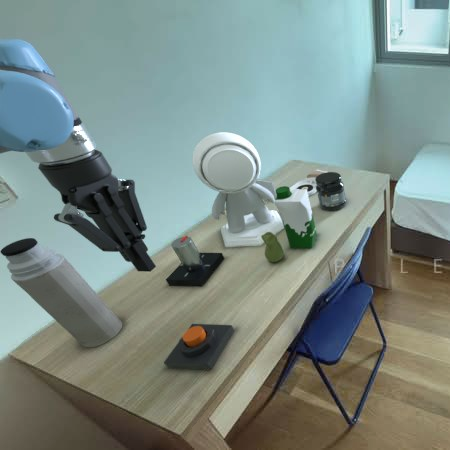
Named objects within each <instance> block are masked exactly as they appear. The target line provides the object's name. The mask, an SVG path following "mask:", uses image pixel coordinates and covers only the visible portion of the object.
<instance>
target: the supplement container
mask: <svg viewBox="0 0 450 450" xmlns="http://www.w3.org/2000/svg"><path fill="white" fill-rule="evenodd" d="M315 181H316V184H317V185H316V190H317V192H316V194H317V199H318V204H319V207H320V208H321V209H323V210H325V211H336V210H337V211H338V210H340V209H341V208H343V207H344V206H345V205H346V203H347V199H346V192H345V187H344V186H345V184H344V181H342V175H341V174H340V173H339V172H336V171H326V173H322V174H320V175H318V176H317V177H316V179H315Z"/></svg>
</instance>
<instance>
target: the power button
mask: <svg viewBox="0 0 450 450" xmlns="http://www.w3.org/2000/svg"><path fill="white" fill-rule="evenodd" d="M182 336H183V340H184V342H185V343H186V344H187V346H189V347H194V346H197V345H199V344H200V343H202V342H203V341H204V340H205V338H206V333H205V331H204V330H203V328H202V327H201V326H194V327H192V328H190V329H189V328H188V329H187V330H186V331H185V332H184V333H183V335H182Z"/></svg>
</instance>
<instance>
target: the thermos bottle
mask: <svg viewBox="0 0 450 450" xmlns="http://www.w3.org/2000/svg"><path fill="white" fill-rule="evenodd" d="M0 254H1V255H2V256H3V257H5V259H6V260H7V261H8V264H7V265H6V267H7V269H8V272H9V273H10V274H11V275H10V279H11V280H12V281H13V282H14V283H15V284H16V285H17V286H18V287H20V288H21V289H22V290H23V291H24V292H25V293H26V294H28V295H29V296H30V298H31V299H32V300H33V301H34V302H35V303H37V305H39V307H41V308H42V309H43V310H44V311H45V312H46V313H47V314H48V315H50V317H52V319H53V320H55V321H56V322H57V323H58V324H59V325H60V326H61V327H62V328H63V329H64V330H66V331H67V332H68V334H70V335H71V336H72V337H73V338H74V339H75V340H76V341H77V342H78V343H79V344H80V345H81V346H83V347H84V348H97V347H98V346H101V345H103V344H105V343H107V342H109V341H110V340H112V339H113V338H115V336H116V335H118V334H119V333H120V331H121V330H122V328H123V322H122V320H120V318H119V317H118V316H117V315H116V314H115V312H113V310H111V308H110V307H109V306H108V305H107V303H106V302H104V300H103V299H102V298H101V297H100V296H99V295H98V293H97V292H96V291H95V290H94V289H93V288H92V286H91V285H90V284H89V283H88V282H87V281H86V279H84V278H83V276H82V275H81V274H80V273H79V272H78V270H76V268H75V267H74V266H73V265H72V263H70V262H69V260H68V259H67V258H66V257H65V256H64V255H63V254H60V253H56V251H55V250H53V249H52V248H50V247H43V246H42V245H40V243H39V242H38V240H37V239H36V238H34V237H26V238H21V239H19V240H16V241H13V242H10V243H9V244H7V245H5V246H3V248H1V250H0Z"/></svg>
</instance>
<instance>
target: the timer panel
mask: <svg viewBox="0 0 450 450" xmlns="http://www.w3.org/2000/svg"><path fill="white" fill-rule="evenodd" d="M199 253H200V255H201V257H202V259H203V261H204V264H203V266H202V267H200V268H199V269H197V270H194V271H187V270H186V269H185V268H184V266H183V264H182V263H181V262H180V264H179V265H178V266H177V267H176V268H175V269H174V270H173V271H172V272H171V273H170V274H169V275H168V276H167V278H165V281H166V283H167V284H168V286H169V287H201V288H203V286H204V285H205V284H206V283H207V281H208V280H209V279H210V278H211V276H212V275H213V274H214V273H215V271H216V270H217V269H218V268H219V266H220V265H221V264H222V263H223V261H224V260H225V256H224V254H223V253H222V252H201V251H199Z"/></svg>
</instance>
